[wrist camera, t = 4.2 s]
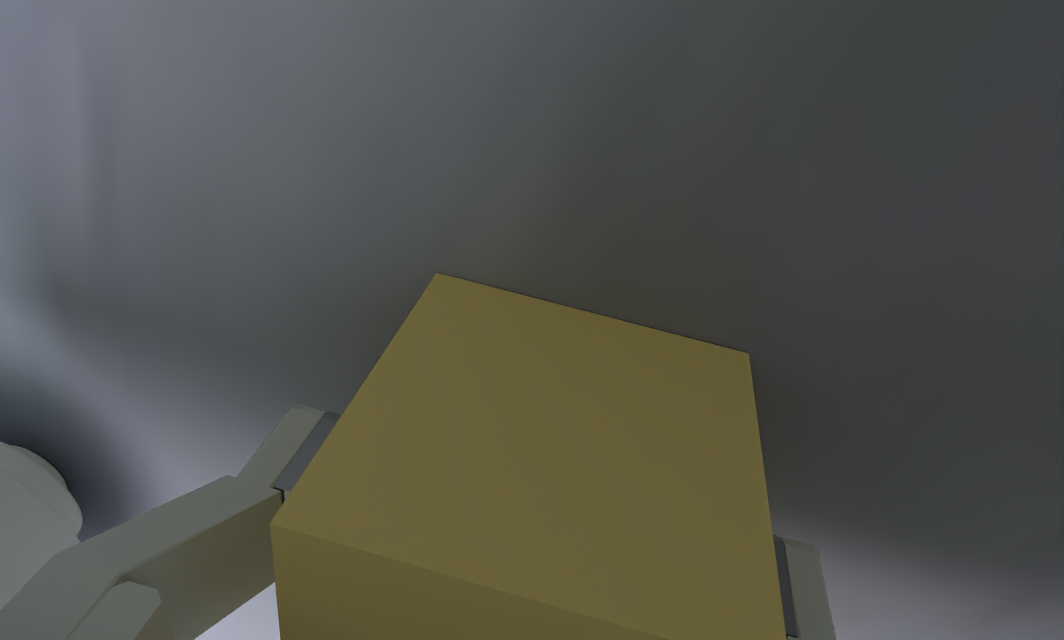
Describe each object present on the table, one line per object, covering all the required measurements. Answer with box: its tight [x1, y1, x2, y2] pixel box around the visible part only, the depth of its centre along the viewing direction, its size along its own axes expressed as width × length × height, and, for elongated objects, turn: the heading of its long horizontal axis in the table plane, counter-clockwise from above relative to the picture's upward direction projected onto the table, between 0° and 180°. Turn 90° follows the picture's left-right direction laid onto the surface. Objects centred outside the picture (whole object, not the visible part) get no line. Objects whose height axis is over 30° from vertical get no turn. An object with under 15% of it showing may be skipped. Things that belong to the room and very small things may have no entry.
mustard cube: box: [270, 273, 787, 640], centre depth 9 cm, size 5×5×5 cm
